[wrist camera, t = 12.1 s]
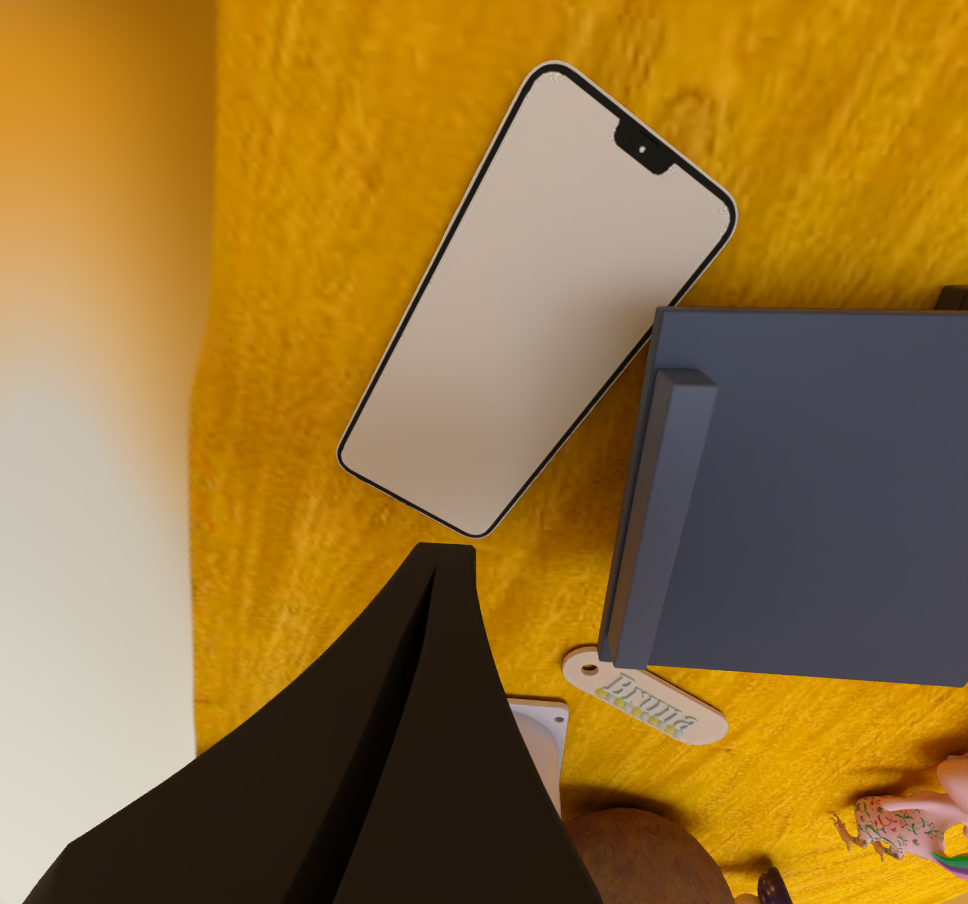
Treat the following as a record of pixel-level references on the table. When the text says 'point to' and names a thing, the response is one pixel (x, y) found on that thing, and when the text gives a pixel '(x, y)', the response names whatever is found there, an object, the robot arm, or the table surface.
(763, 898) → the purple dumbbell
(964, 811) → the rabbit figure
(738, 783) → the table surface
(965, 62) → the table surface
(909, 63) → the table surface
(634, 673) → the keychain
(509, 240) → the smartphone
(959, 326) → the cover
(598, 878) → the potato
